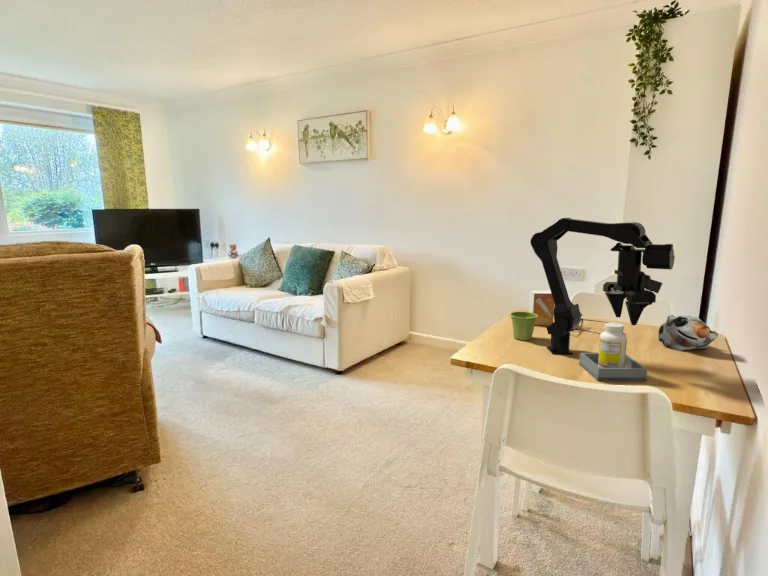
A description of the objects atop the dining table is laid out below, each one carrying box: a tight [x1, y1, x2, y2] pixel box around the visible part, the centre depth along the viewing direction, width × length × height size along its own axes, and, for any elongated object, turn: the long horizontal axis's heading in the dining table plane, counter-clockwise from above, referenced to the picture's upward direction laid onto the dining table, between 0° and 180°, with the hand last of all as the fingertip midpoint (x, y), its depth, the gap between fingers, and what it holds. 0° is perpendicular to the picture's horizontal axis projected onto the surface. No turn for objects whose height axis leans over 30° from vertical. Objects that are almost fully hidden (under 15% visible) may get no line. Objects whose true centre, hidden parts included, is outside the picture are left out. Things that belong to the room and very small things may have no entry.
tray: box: [578, 352, 648, 382], centre depth 122 cm, size 13×13×4 cm
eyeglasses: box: [572, 318, 625, 336], centre depth 157 cm, size 16×16×4 cm
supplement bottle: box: [598, 322, 628, 368], centre depth 121 cm, size 7×7×13 cm
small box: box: [528, 289, 554, 326], centre depth 171 cm, size 8×6×13 cm
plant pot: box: [509, 310, 538, 341], centre depth 154 cm, size 9×9×9 cm
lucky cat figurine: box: [657, 313, 719, 352], centre depth 140 cm, size 15×12×14 cm
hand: (625, 321), depth 125 cm, fingers open, 9 cm apart
